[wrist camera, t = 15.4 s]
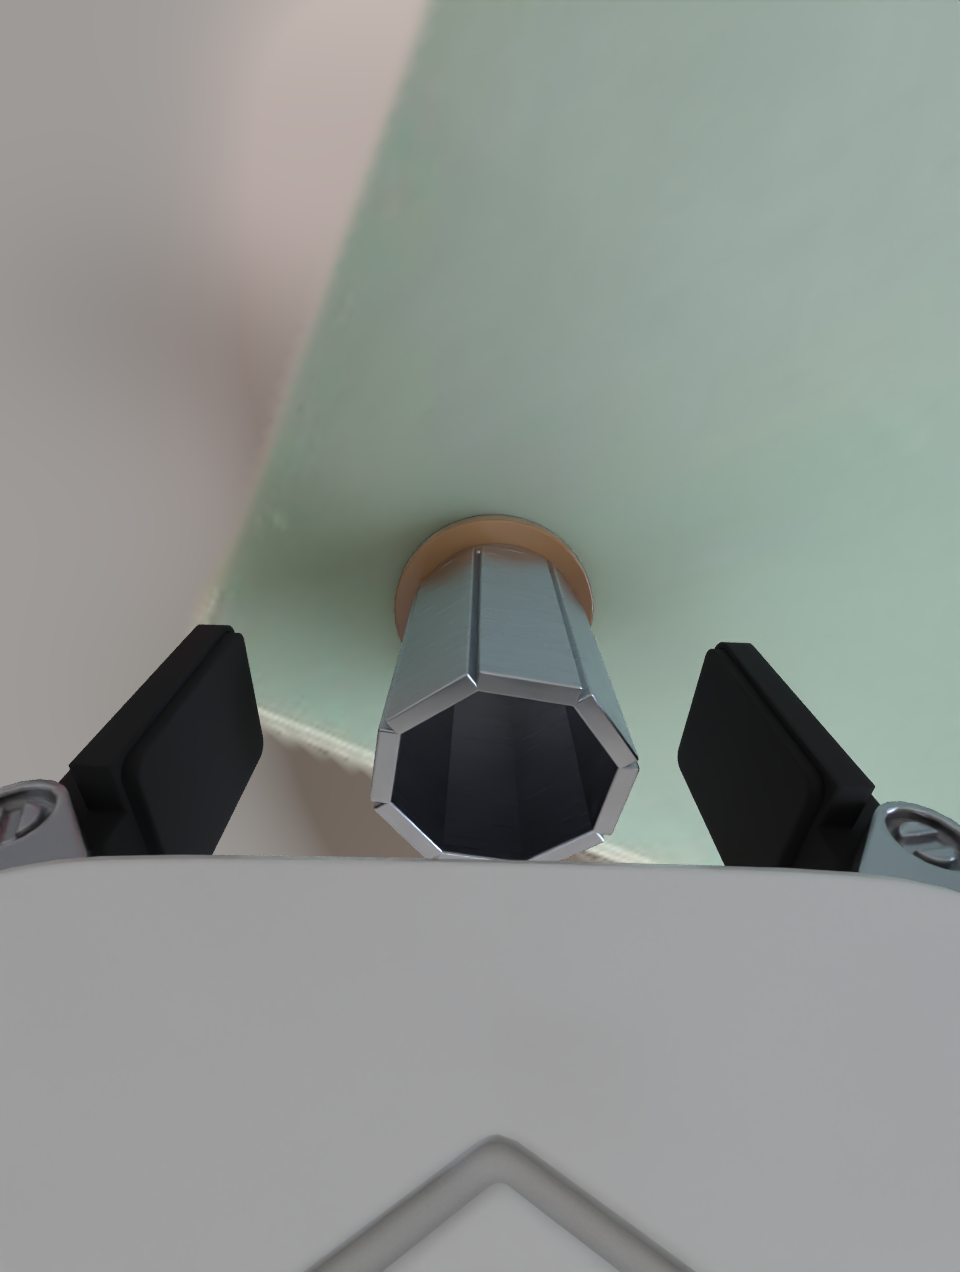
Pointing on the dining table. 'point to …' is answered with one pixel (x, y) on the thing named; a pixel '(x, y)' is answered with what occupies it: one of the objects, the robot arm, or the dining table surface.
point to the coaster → (482, 533)
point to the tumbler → (501, 717)
